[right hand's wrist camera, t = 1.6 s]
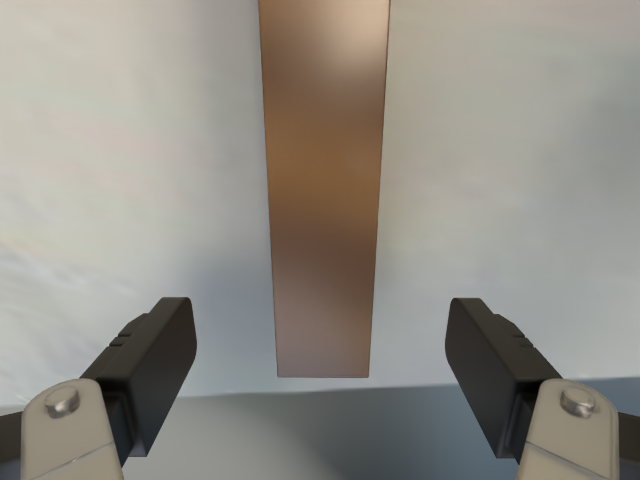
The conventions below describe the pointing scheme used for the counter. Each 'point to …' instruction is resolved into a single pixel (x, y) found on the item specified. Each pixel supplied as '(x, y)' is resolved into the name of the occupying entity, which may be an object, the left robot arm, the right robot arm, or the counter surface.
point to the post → (323, 177)
